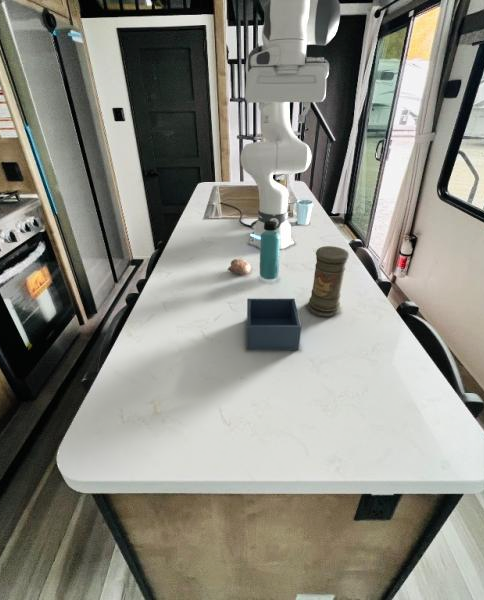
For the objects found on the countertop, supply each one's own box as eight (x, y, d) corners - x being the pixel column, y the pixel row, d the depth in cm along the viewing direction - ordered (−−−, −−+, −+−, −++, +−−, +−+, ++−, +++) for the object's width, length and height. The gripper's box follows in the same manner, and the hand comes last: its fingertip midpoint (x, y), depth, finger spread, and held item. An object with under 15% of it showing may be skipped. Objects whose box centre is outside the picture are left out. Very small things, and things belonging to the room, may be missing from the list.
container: (318, 297, 99) (326, 242, 89) (344, 308, 93) (356, 251, 84) (301, 308, 94) (308, 251, 84) (328, 321, 88) (338, 262, 78)
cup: (300, 226, 152) (302, 205, 147) (291, 222, 158) (293, 201, 153) (313, 224, 155) (316, 202, 149) (304, 220, 161) (306, 199, 155)
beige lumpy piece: (226, 277, 110) (248, 273, 108) (223, 260, 109) (245, 255, 107) (232, 277, 117) (253, 273, 115) (229, 261, 117) (250, 256, 115)
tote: (247, 319, 89) (247, 298, 85) (292, 319, 89) (294, 298, 85) (247, 349, 78) (247, 327, 75) (298, 350, 78) (301, 327, 74)
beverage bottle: (277, 284, 106) (280, 226, 95) (257, 282, 107) (258, 224, 96) (279, 275, 111) (282, 219, 100) (260, 273, 112) (261, 218, 101)
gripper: (327, 58, 79) (320, 121, 87) (245, 59, 79) (245, 122, 87) (333, 55, 74) (325, 123, 81) (245, 56, 74) (245, 124, 82)
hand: (283, 123), depth 84 cm, fingers open, 8 cm apart
